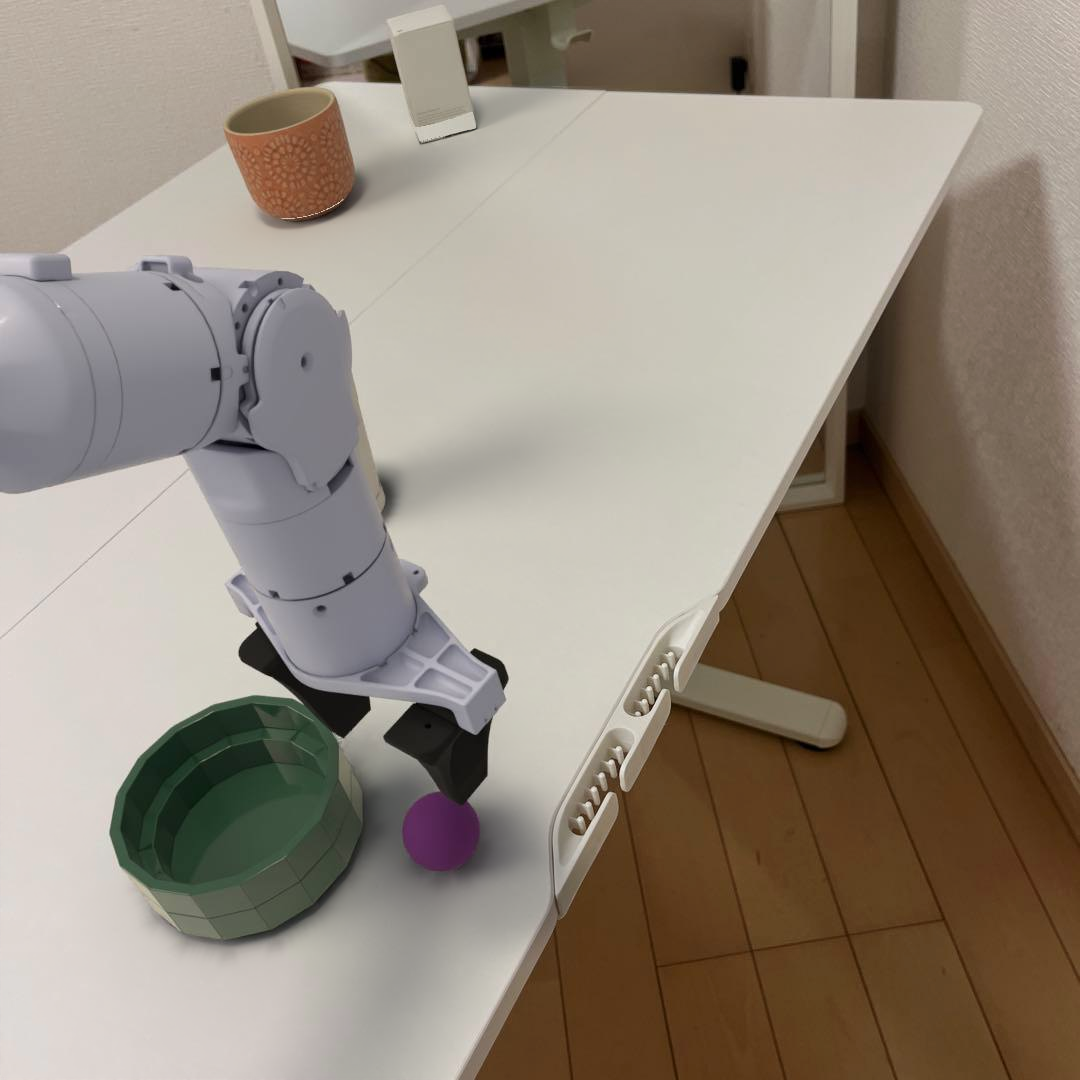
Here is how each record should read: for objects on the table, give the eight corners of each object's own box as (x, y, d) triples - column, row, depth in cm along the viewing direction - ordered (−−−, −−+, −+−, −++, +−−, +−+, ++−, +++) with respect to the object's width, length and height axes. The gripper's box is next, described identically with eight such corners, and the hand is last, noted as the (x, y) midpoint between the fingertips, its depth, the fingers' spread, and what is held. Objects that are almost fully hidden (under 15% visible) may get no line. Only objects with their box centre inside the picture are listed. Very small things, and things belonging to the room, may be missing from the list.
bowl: (248, 988, 54) (210, 938, 51) (107, 874, 61) (65, 823, 58) (410, 805, 61) (385, 750, 57) (266, 720, 67) (236, 666, 64)
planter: (317, 238, 117) (282, 138, 110) (235, 227, 123) (197, 131, 116) (387, 185, 124) (359, 88, 117) (306, 177, 130) (275, 84, 123)
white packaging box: (478, 129, 131) (454, 18, 123) (418, 145, 131) (390, 35, 123) (469, 109, 137) (445, 1, 129) (411, 124, 137) (383, 17, 128)
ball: (454, 900, 56) (435, 857, 53) (398, 864, 58) (377, 821, 55) (502, 840, 58) (486, 796, 55) (446, 807, 60) (428, 763, 58)
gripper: (520, 539, 41) (580, 753, 50) (267, 442, 49) (358, 642, 58) (397, 668, 38) (485, 873, 47) (145, 541, 46) (263, 738, 55)
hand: (409, 753), depth 52 cm, fingers open, 7 cm apart
